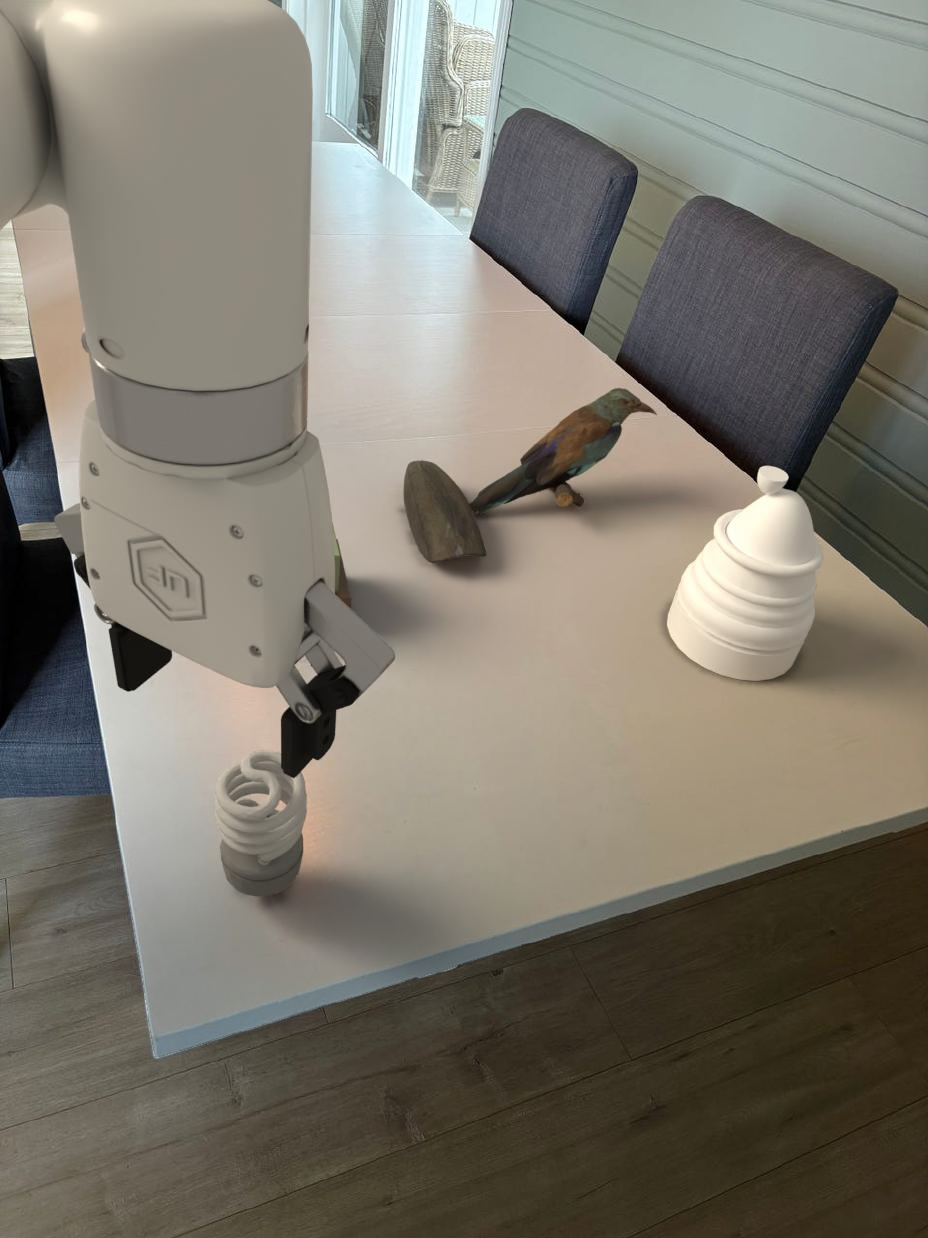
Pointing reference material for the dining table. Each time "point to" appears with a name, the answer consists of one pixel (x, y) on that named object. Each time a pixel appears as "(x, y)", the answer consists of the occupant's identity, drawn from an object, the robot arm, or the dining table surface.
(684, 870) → the dining table surface
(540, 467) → the bird figurine
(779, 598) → the honey pot
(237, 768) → the light bulb
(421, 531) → the decorative stone
